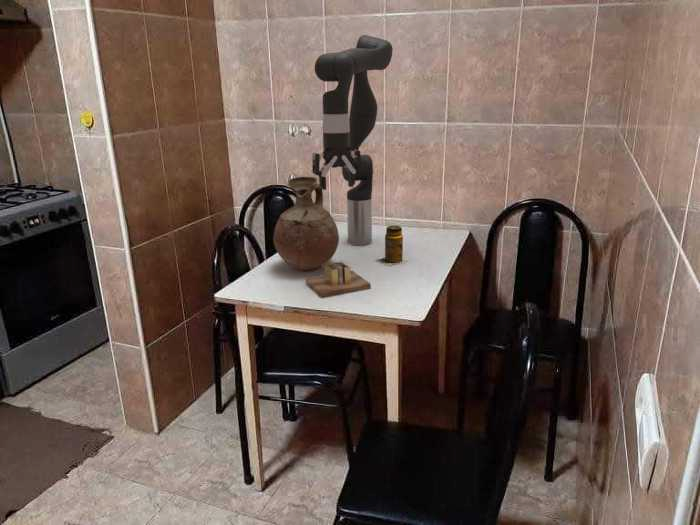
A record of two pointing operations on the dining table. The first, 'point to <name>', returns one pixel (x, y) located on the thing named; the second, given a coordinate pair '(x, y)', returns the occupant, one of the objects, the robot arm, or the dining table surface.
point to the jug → (306, 228)
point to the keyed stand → (326, 289)
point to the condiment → (393, 246)
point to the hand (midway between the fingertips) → (337, 187)
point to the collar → (332, 274)
